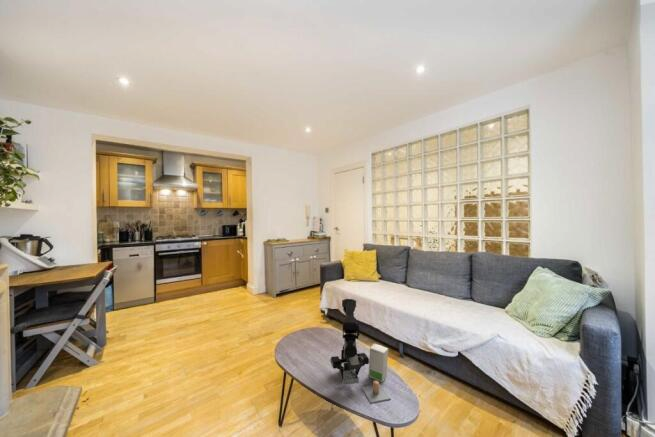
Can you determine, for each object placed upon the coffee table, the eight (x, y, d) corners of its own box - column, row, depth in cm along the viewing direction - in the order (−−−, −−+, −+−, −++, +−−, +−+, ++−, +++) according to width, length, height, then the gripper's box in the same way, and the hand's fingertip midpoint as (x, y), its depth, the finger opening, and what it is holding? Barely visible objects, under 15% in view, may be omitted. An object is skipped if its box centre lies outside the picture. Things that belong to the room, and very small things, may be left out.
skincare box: (368, 376, 133) (368, 347, 133) (373, 370, 138) (373, 342, 138) (383, 382, 128) (383, 352, 128) (387, 376, 134) (388, 347, 133)
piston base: (362, 388, 123) (362, 377, 123) (380, 385, 126) (380, 374, 126) (370, 403, 114) (370, 391, 114) (390, 399, 116) (390, 387, 116)
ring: (340, 376, 127) (340, 371, 127) (353, 374, 128) (353, 369, 128) (344, 385, 120) (345, 380, 120) (358, 382, 122) (358, 378, 122)
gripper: (336, 357, 114) (336, 391, 114) (374, 352, 119) (373, 385, 119) (330, 345, 125) (329, 376, 125) (364, 341, 129) (364, 371, 129)
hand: (349, 377), depth 124 cm, fingers closed on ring, 7 cm apart
